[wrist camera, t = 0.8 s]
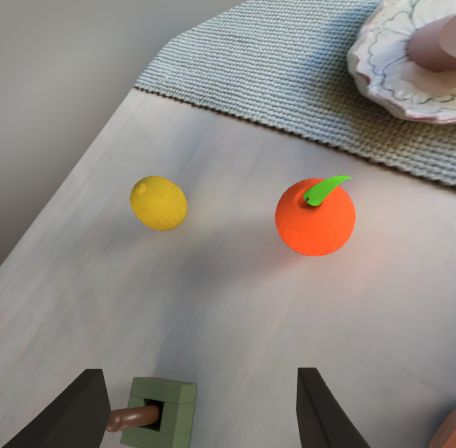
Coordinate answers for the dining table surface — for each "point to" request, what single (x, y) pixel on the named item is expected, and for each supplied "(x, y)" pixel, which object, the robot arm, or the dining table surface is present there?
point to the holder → (171, 418)
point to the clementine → (315, 216)
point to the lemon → (158, 203)
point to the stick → (134, 417)
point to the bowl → (445, 433)
